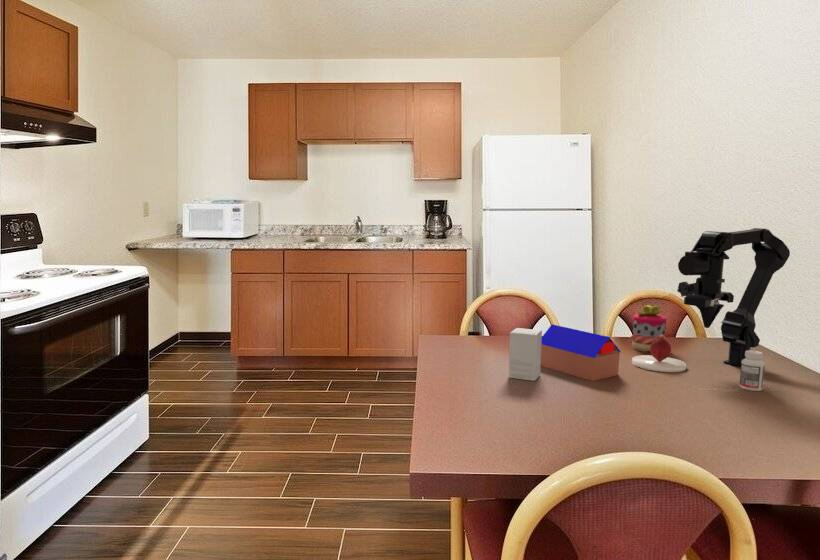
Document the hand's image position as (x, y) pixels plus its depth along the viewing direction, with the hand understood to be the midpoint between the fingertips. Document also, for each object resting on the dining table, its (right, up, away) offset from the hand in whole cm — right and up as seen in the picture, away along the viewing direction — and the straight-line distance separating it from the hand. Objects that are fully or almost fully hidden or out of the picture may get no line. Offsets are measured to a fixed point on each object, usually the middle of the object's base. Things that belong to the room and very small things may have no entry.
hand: (706, 327), depth 178 cm
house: (-39, -12, -4) cm, 41 cm away
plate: (-13, -11, +3) cm, 17 cm away
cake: (-8, -9, +25) cm, 28 cm away
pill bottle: (+3, -15, -18) cm, 24 cm away
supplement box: (-56, -13, -13) cm, 59 cm away
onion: (-13, -10, +3) cm, 17 cm away
